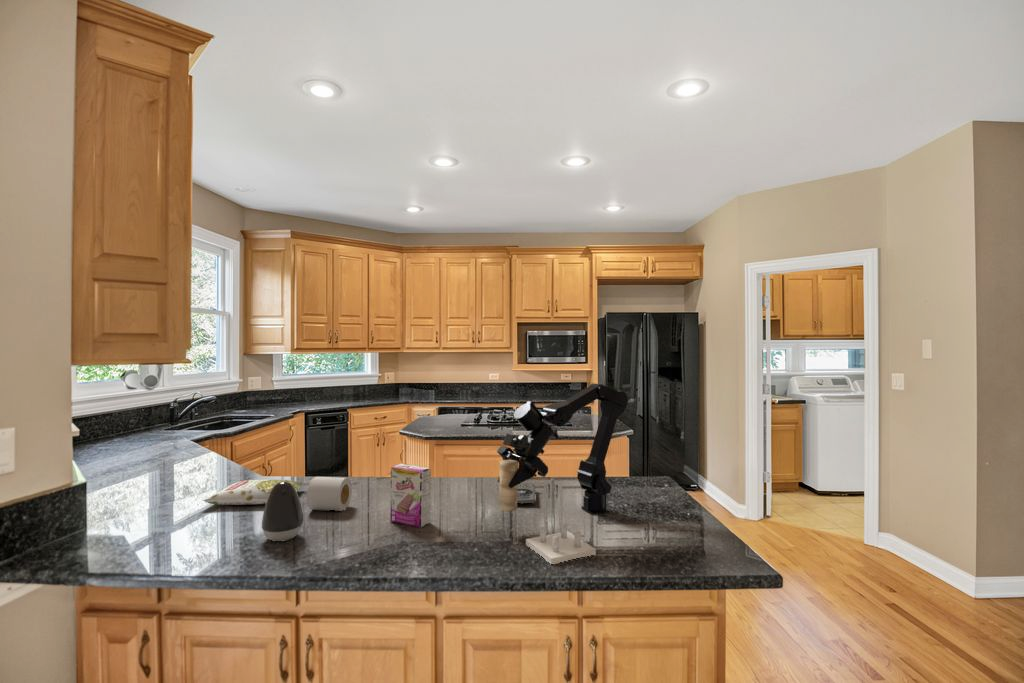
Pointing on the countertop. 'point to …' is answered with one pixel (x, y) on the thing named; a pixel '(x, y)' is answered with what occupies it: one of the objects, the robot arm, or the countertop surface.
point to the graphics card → (526, 493)
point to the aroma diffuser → (282, 513)
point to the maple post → (506, 493)
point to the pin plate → (560, 545)
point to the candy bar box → (410, 495)
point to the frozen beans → (247, 492)
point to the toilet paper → (329, 493)
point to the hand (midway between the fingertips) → (504, 484)
